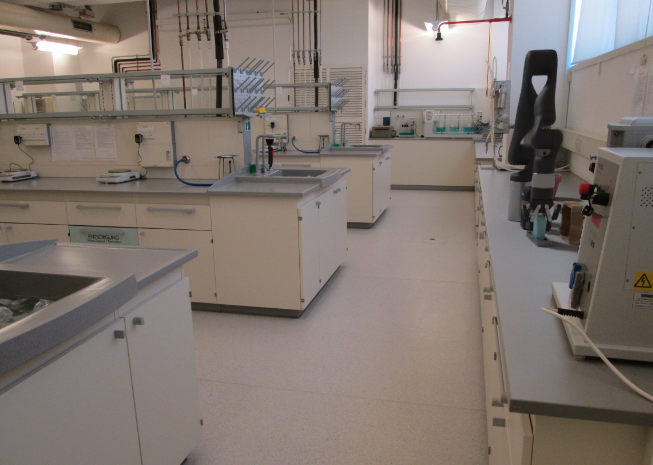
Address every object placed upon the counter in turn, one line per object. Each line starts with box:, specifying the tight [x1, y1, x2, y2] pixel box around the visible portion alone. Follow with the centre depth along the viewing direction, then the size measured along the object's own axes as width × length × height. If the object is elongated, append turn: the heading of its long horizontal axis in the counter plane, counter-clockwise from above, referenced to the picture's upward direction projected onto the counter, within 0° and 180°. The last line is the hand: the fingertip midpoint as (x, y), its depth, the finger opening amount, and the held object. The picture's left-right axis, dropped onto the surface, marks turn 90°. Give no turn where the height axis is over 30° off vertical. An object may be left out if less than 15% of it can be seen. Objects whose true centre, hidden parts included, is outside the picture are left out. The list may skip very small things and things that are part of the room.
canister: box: [519, 186, 546, 230], centre depth 200 cm, size 10×10×18 cm
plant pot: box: [553, 173, 562, 200], centre depth 267 cm, size 14×14×13 cm
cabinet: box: [557, 200, 585, 245], centre depth 181 cm, size 10×5×14 cm, turn 173°
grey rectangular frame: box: [525, 230, 553, 247], centre depth 182 cm, size 15×5×2 cm, turn 173°
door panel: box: [532, 213, 547, 240], centre depth 182 cm, size 10×2×9 cm, turn 174°
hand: (539, 230), depth 181 cm, fingers open, 5 cm apart
